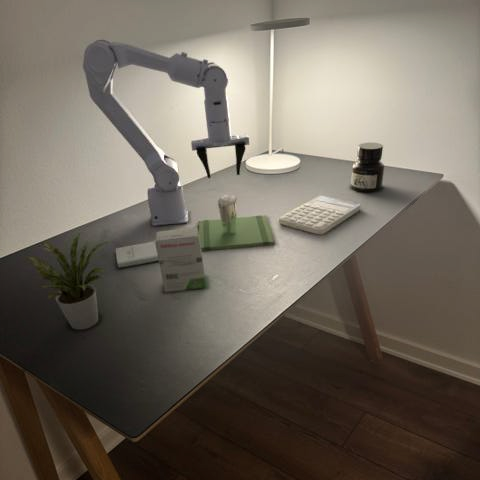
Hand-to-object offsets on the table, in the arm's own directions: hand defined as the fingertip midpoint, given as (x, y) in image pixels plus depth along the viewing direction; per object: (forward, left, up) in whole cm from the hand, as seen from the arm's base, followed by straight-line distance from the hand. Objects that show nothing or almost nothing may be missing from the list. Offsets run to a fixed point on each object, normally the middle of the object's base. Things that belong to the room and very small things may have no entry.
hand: (223, 175), depth 118 cm
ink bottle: (+42, +10, -11) cm, 45 cm away
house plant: (-29, -46, -11) cm, 55 cm away
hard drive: (-21, -22, -11) cm, 32 cm away
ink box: (-11, -37, -11) cm, 40 cm away
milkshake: (0, -15, -10) cm, 18 cm away
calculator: (+24, -8, -11) cm, 28 cm away
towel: (+1, -14, -10) cm, 17 cm away
